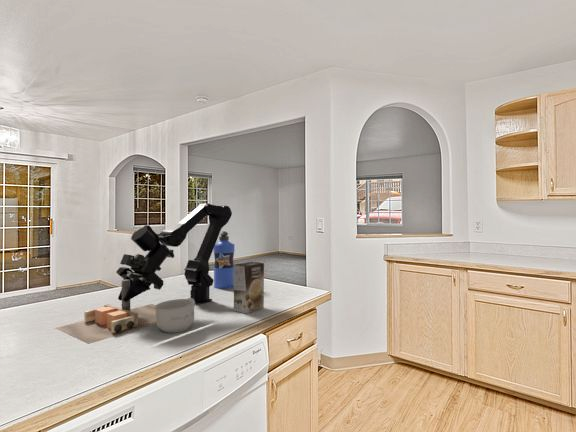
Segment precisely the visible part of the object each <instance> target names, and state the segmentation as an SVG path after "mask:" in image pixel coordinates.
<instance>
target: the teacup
mask: <svg viewBox="0 0 576 432" xmlns="http://www.w3.org/2000/svg"><path fill="white" fill-rule="evenodd" d="M155 305H156V306H155V309H156V320H157V323H156V325H157V328H158V329H159V330H160V331H162V332H165V333H169V334H170V333H173V334H175V333H181V332H184V331H186V330H188V329H189V328H190V327H191V326H192V325H193V324H194V321H195V306H196V303H195V301H194V299H193V298H190V297H188V298H178V299H177V298H175V299H170V300H165V301H162V302H159V303H157V304H155Z"/></svg>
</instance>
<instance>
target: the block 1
mask: <svg viewBox="0 0 576 432" xmlns="http://www.w3.org/2000/svg"><path fill="white" fill-rule="evenodd" d="M103 307H104V306H103ZM98 308H99V309H97V308H94V309H95V323H98V324H100V325H104V324H107V313H111V312H115V308H112V307H104V308H102V307H98Z"/></svg>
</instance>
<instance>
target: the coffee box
mask: <svg viewBox="0 0 576 432" xmlns="http://www.w3.org/2000/svg"><path fill="white" fill-rule="evenodd" d="M264 278H265V263H264V262H257V261H249V262H248V261H247V262H242V263H237V264H236V263H234V287H233V311H234V312H239V313H243V314H249V313H252V312H255V311H257V310H258V311H259V310H261V309H263V308H264V307H265V300H264V299H265V297H264V295H265V292H264V291H265V279H264Z"/></svg>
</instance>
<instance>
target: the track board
mask: <svg viewBox="0 0 576 432" xmlns="http://www.w3.org/2000/svg"><path fill="white" fill-rule="evenodd" d="M156 305H157V304H154V303H150V304H146V305H142V306H138V307H134V308H130V311H132V312H135V313H138V326H135V327H132V328H128V329H125V330H122V331H120V332H115V333H113V332H111V329H110V328H108V327H107V324H104V325H100V324H98V323H95V320H92V321H88V322H85V320H82V321H78V322H73V323H70V324H65V325H61V326H59V327H55V329H56V330H58V331H60V332H62V333H64V334H67V335H69V336H71V337H73V338H75V339H77V340H80V341H82V342H84V343H86V344H88V345H90V344H92V343H95V342H99V341H102V340H105V339H108V338H112V337H115V336H119V335H122V334H125V333H128V332H132V331H135V330H139V329H142V328H145V327H149V326H151V325H154V324H157V320H156V309H155V306H156Z"/></svg>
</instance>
